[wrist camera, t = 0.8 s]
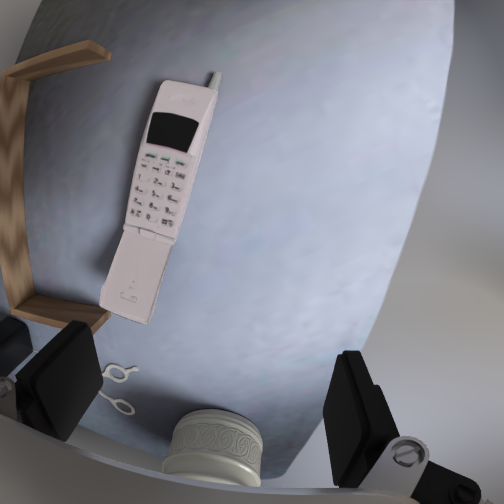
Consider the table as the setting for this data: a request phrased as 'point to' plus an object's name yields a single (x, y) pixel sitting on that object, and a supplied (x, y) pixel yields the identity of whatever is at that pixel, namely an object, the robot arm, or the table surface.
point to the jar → (215, 449)
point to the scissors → (118, 380)
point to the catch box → (12, 193)
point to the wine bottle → (13, 345)
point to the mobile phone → (159, 196)
